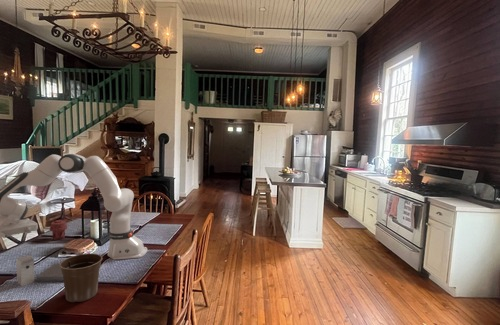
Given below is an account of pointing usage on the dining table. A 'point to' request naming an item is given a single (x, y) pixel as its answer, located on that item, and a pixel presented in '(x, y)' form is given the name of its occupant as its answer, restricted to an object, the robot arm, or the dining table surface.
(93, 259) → the plant pot
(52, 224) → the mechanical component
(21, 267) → the off-white rectangular block
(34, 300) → the dining table surface
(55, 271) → the steel plate
